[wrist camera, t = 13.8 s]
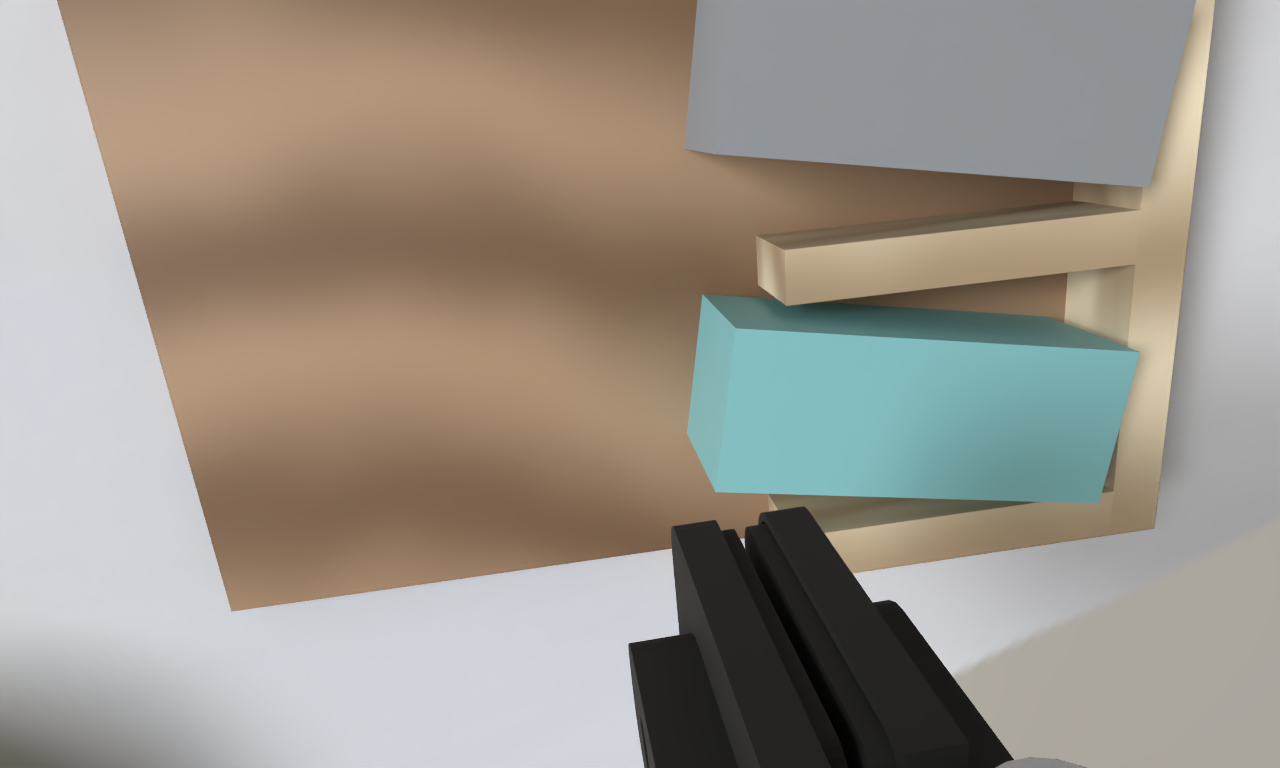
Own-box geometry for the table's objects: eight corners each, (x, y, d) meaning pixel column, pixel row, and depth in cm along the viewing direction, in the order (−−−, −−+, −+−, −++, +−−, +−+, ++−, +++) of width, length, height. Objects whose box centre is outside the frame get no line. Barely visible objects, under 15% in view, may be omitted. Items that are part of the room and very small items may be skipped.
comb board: (63, -47, 17) (-40, -85, 14) (1155, -130, 19) (1273, -178, 16) (242, 594, 22) (194, 671, 19) (1101, 472, 24) (1183, 523, 21)
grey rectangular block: (699, -25, 18) (737, -59, 14) (1082, 16, 19) (1197, -7, 16) (684, 148, 19) (716, 154, 15) (1047, 176, 20) (1149, 187, 17)
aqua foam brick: (702, 294, 20) (735, 328, 17) (1045, 315, 21) (1140, 352, 18) (686, 433, 21) (715, 492, 18) (1015, 446, 22) (1098, 503, 19)
